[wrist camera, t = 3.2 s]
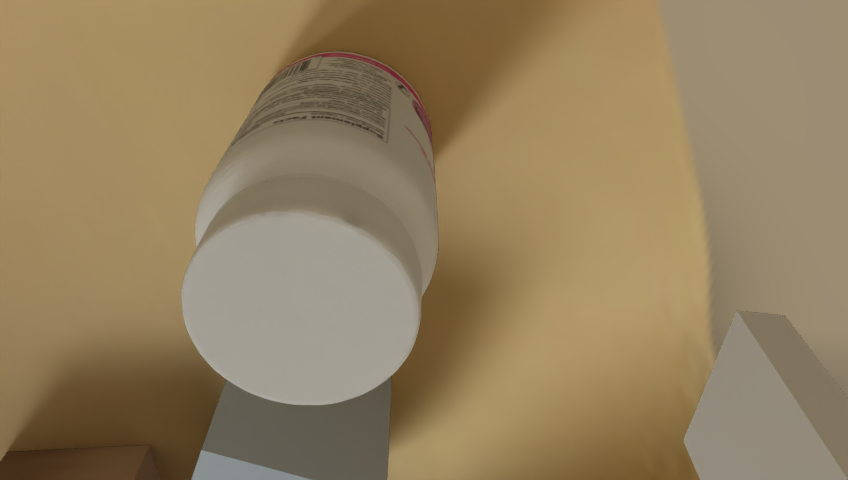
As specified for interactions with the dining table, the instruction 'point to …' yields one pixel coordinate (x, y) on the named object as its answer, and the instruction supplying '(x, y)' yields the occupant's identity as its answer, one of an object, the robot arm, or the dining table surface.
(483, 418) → the dining table surface
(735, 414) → the robot arm
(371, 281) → the pill bottle
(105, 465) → the walnut cube
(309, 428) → the slate blue cube
